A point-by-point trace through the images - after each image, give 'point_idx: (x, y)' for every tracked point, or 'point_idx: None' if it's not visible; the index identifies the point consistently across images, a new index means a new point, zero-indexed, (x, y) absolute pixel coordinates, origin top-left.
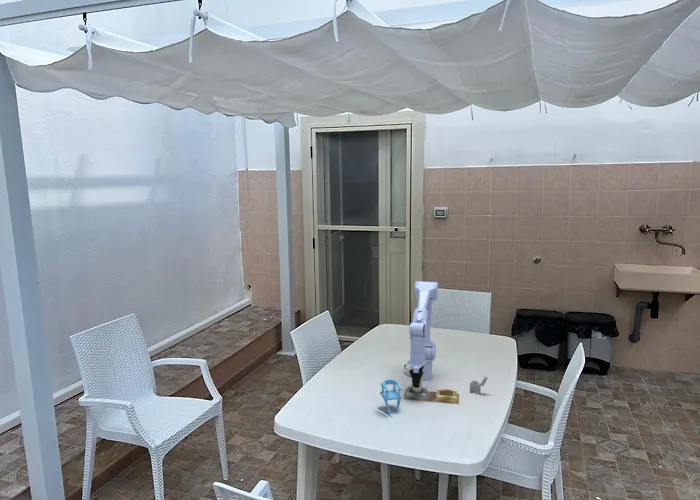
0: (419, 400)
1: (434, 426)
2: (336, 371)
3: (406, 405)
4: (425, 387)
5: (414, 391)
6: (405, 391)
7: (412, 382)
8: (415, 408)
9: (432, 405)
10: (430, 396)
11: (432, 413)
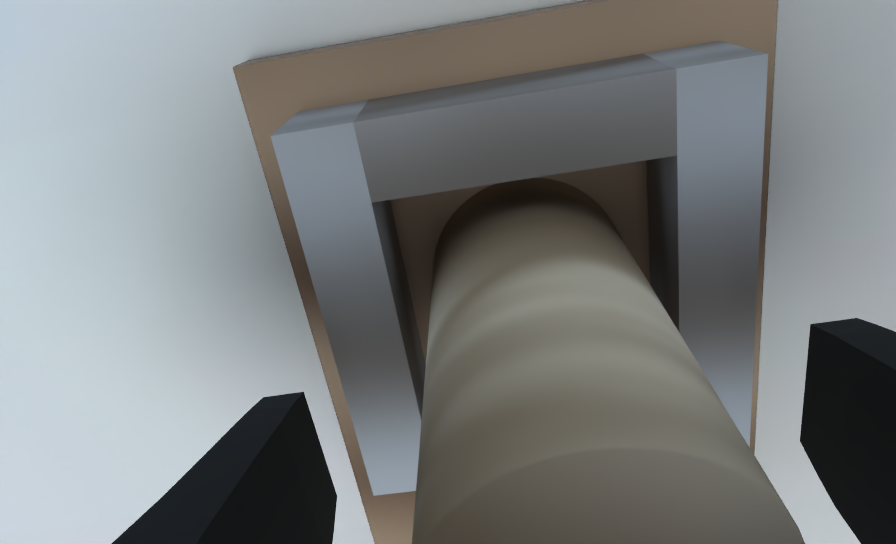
0: (329, 354)
1: None
2: None
3: (133, 163)
4: (741, 431)
5: (434, 299)
6: (648, 10)
7: (467, 356)
8: (114, 319)
9: (337, 494)
10: None
11: (106, 528)
